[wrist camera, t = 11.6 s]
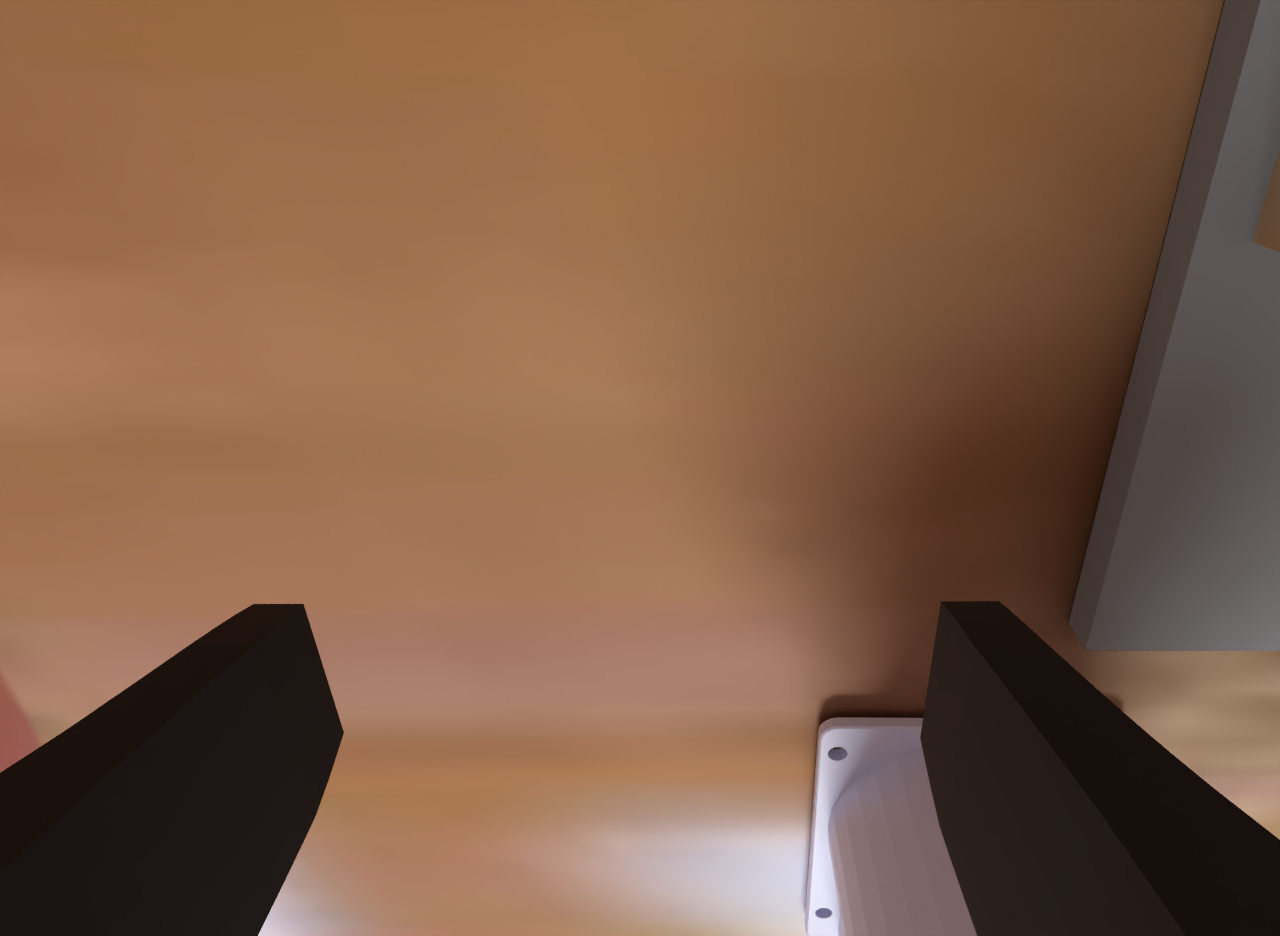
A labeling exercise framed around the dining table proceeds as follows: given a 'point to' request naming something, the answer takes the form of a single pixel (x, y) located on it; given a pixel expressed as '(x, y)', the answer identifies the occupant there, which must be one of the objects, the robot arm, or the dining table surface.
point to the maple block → (1270, 214)
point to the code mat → (1202, 392)
